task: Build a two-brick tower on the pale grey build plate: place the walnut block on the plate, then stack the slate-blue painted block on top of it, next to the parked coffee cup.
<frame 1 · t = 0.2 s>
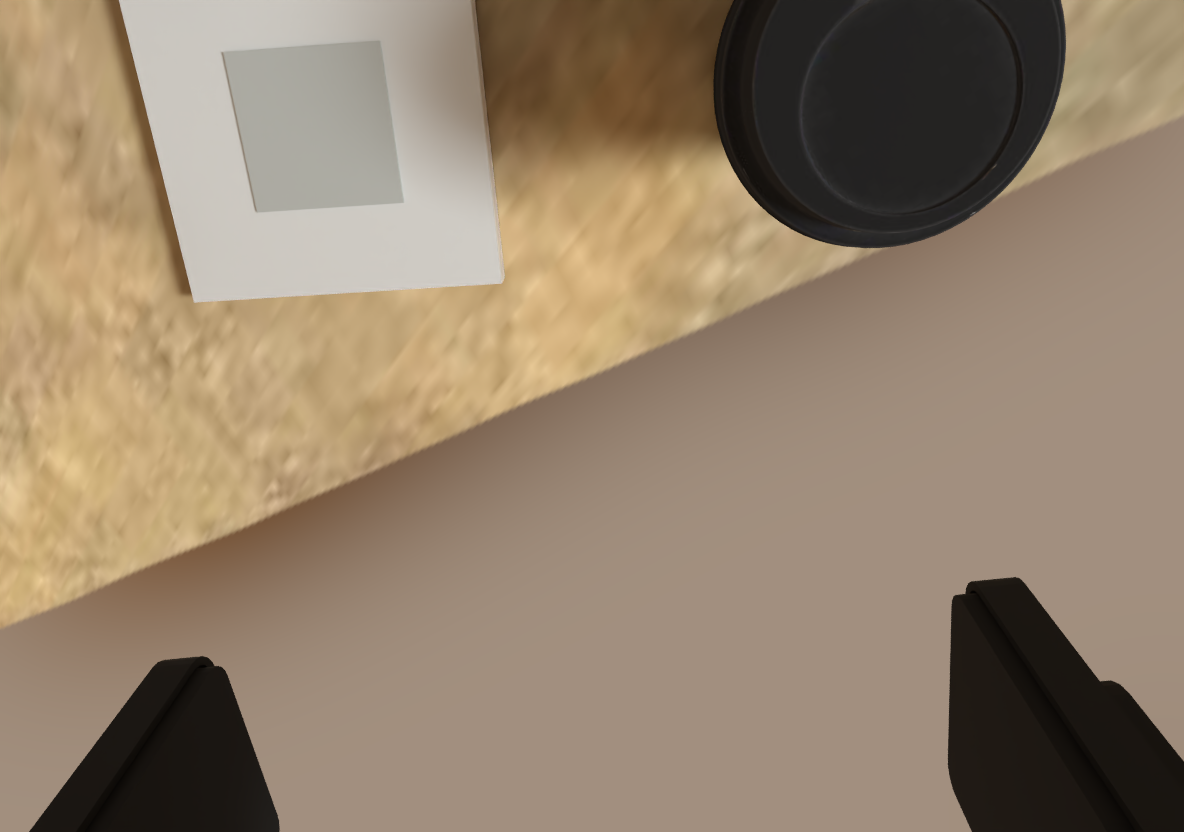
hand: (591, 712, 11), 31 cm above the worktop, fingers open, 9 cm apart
coffee cup: (795, 68, 37), on the worktop
build plate: (325, 127, 38), on the worktop
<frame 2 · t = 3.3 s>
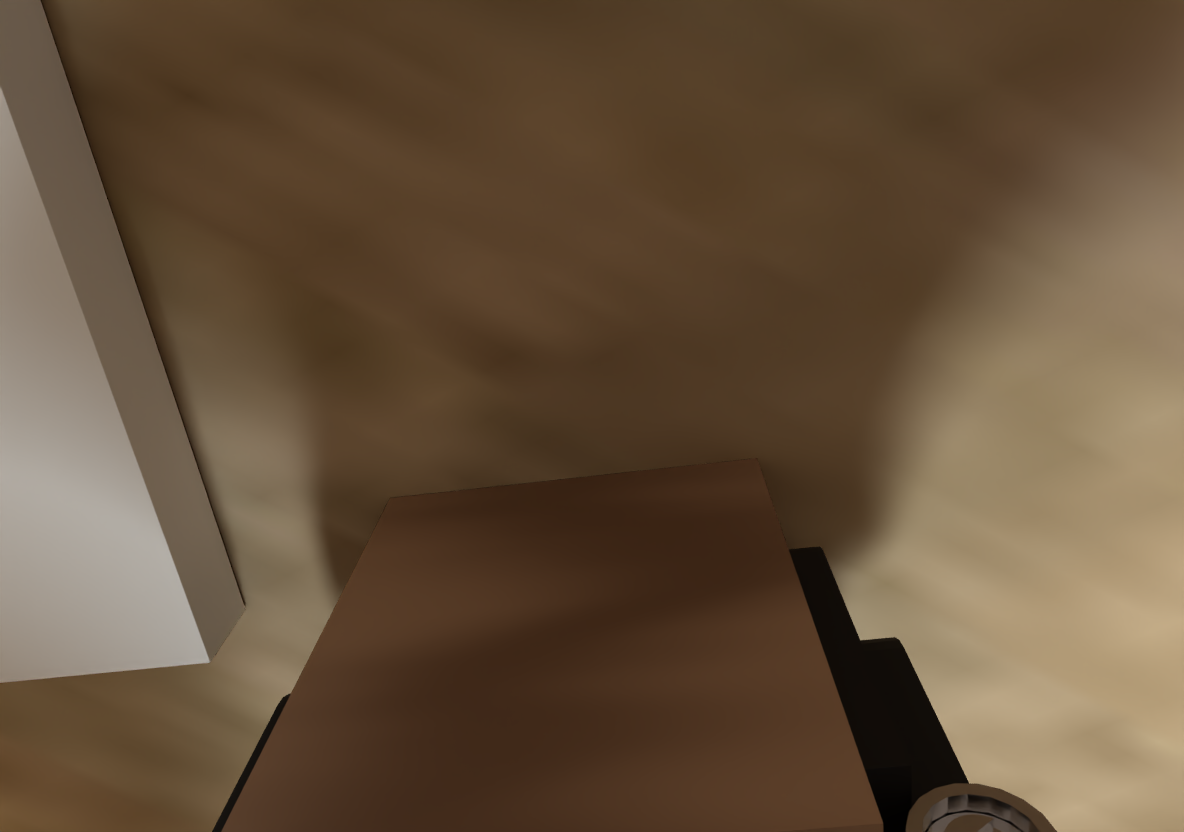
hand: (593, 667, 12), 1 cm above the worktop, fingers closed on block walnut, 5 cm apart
block walnut: (594, 631, 13), on the worktop, touching gripper
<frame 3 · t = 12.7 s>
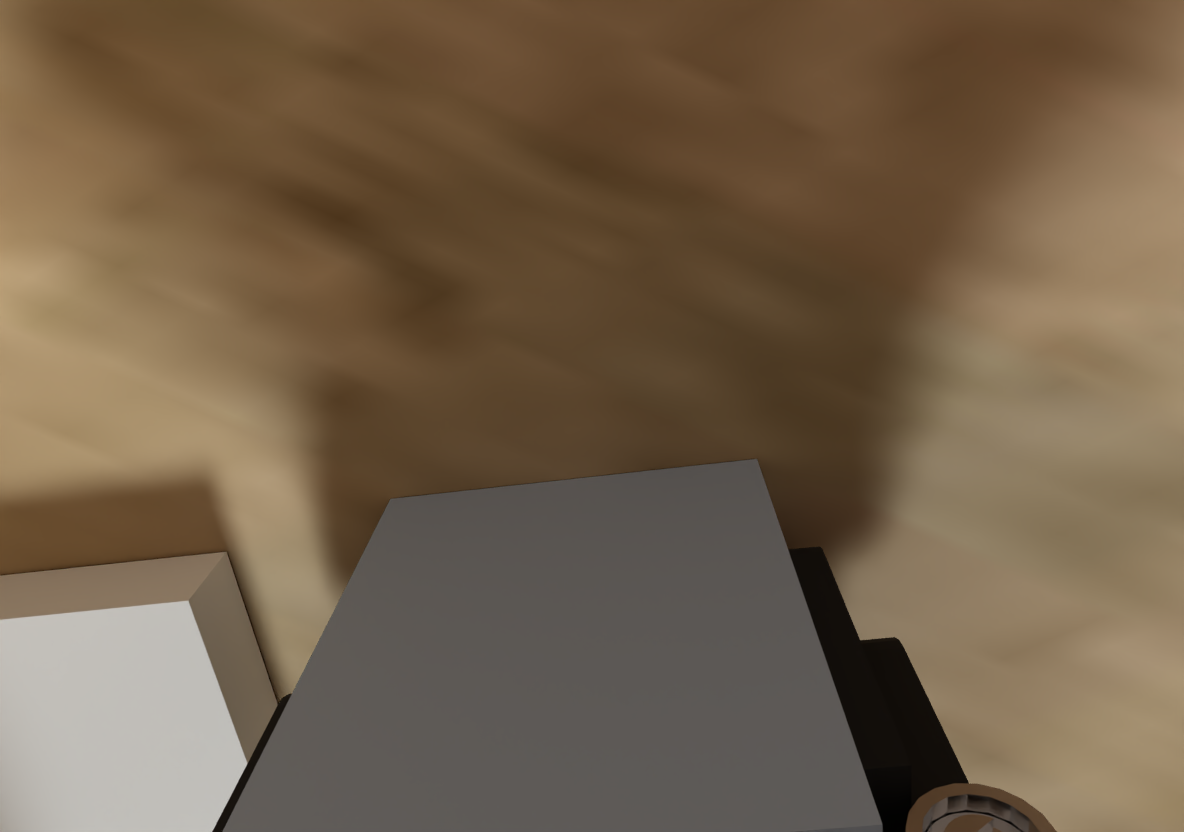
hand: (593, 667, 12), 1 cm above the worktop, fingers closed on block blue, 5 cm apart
block blue: (595, 632, 13), on the worktop, touching gripper
when the fingers open (9 cm above the worktop, at t = 17.8 s): block blue stays where it is, resting on block walnut.
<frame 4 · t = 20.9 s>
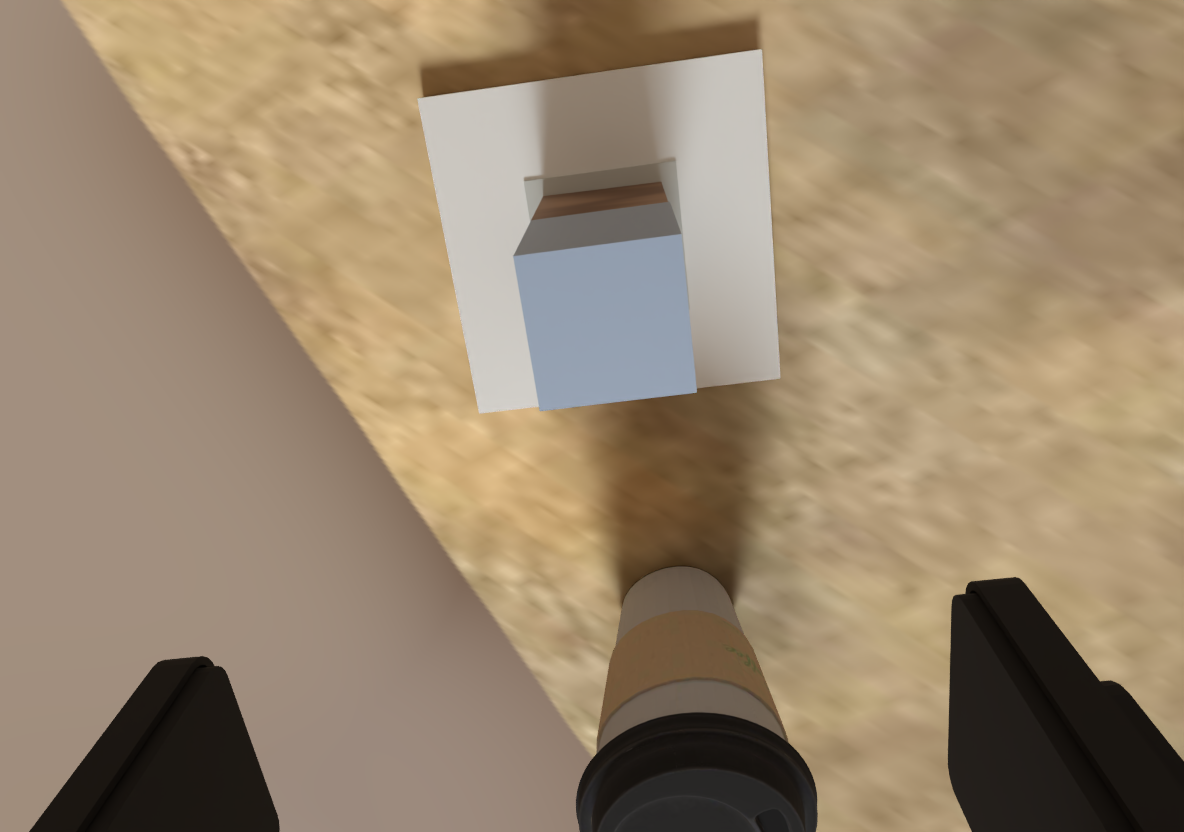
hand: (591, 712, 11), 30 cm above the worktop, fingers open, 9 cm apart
block blue: (609, 279, 32), point 7 cm above the worktop, touching block walnut
coffee cup: (675, 610, 47), on the worktop
build plate: (609, 240, 39), on the worktop
block walnut: (608, 247, 38), point 1 cm above the worktop, touching block blue, build plate
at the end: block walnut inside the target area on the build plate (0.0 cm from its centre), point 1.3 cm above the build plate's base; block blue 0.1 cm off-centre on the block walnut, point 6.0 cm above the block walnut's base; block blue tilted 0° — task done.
